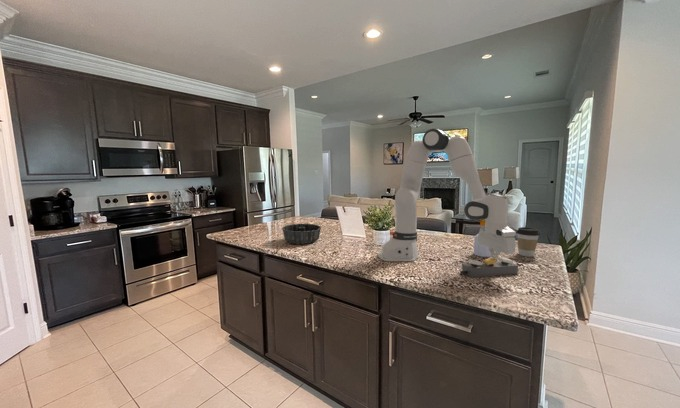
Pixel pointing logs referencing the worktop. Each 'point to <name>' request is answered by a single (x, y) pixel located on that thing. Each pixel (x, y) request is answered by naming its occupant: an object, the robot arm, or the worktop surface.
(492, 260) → the block
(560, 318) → the worktop surface
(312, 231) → the bundt pan
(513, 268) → the power strip
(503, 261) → the plate
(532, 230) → the coffee cup
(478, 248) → the soap bottle
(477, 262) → the block
